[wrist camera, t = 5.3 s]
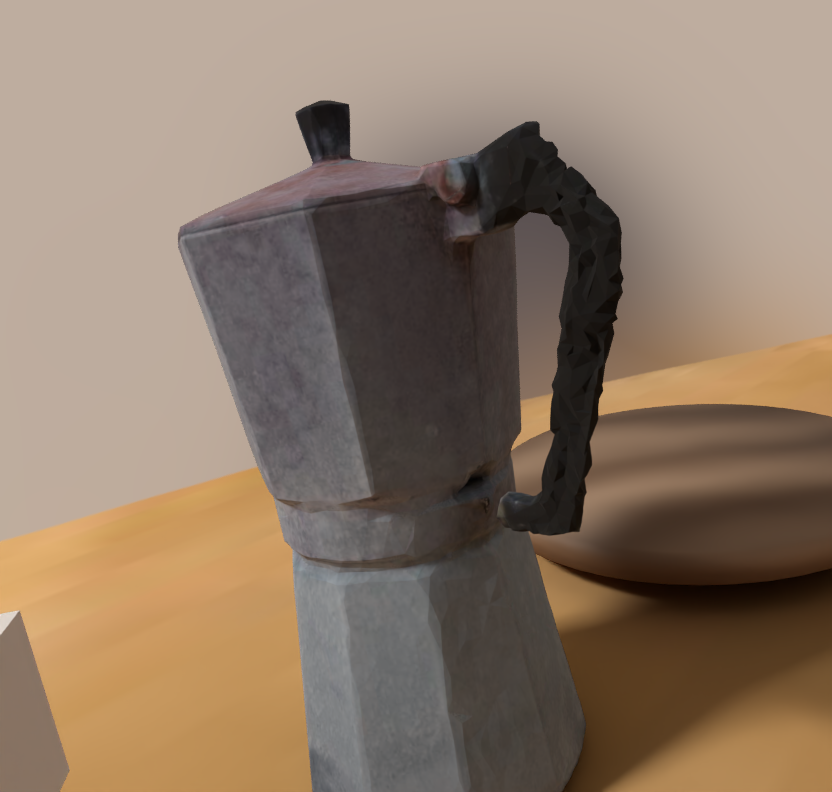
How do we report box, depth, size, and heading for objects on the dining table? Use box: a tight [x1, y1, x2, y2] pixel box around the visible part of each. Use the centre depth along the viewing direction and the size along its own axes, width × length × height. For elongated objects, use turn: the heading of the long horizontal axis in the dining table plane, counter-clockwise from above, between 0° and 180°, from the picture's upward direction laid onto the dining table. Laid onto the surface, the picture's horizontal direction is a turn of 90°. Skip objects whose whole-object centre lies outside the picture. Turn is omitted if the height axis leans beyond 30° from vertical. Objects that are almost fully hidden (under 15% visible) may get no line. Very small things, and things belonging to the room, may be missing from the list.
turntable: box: [511, 404, 832, 585], centre depth 38 cm, size 19×19×1 cm
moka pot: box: [178, 101, 623, 792], centre depth 22 cm, size 10×15×20 cm, turn 46°
